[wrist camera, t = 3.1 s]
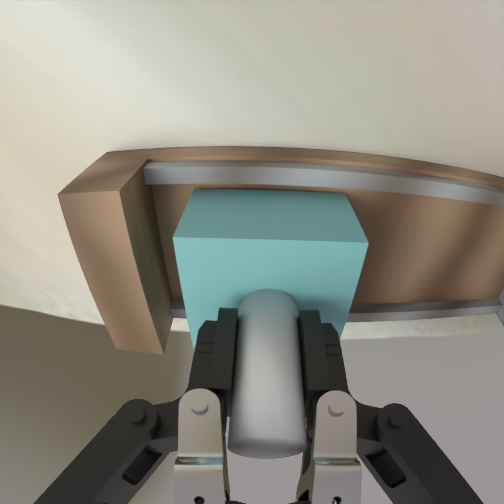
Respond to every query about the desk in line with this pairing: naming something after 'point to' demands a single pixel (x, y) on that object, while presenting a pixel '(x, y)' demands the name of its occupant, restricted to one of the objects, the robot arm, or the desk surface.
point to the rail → (288, 179)
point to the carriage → (268, 295)
